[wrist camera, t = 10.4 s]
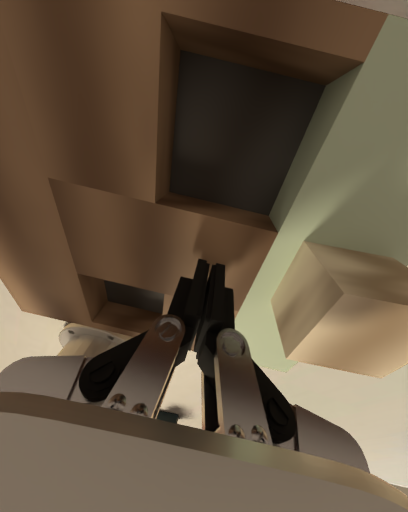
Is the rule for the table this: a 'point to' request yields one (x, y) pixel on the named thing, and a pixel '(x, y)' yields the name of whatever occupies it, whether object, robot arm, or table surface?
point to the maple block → (344, 310)
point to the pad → (341, 182)
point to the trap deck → (154, 142)
